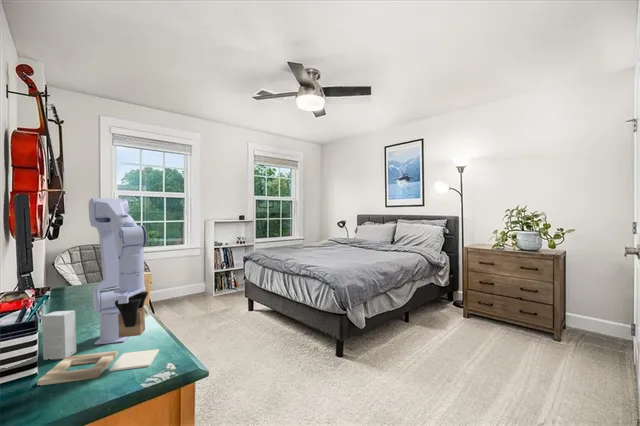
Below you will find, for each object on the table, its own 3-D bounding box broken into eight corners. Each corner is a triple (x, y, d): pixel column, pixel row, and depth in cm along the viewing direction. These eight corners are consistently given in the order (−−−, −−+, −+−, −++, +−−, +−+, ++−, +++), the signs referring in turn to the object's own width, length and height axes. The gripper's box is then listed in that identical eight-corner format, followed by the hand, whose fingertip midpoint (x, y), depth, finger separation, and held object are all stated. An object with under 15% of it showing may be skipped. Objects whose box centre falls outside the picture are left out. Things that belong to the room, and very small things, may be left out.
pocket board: (66, 361, 82) (66, 356, 82) (117, 355, 85) (117, 350, 85) (37, 385, 70) (37, 380, 70) (97, 377, 73) (97, 372, 73)
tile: (123, 355, 85) (123, 353, 85) (158, 350, 87) (158, 349, 87) (109, 371, 76) (109, 369, 76) (149, 366, 78) (149, 364, 78)
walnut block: (124, 331, 82) (123, 309, 82) (145, 329, 84) (144, 307, 84) (118, 337, 78) (118, 314, 78) (140, 335, 80) (140, 312, 80)
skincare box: (77, 352, 87) (76, 310, 87) (65, 359, 83) (64, 315, 83) (55, 353, 87) (54, 310, 87) (42, 360, 83) (40, 315, 82)
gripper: (124, 268, 87) (125, 316, 87) (102, 278, 73) (104, 335, 73) (151, 266, 89) (152, 313, 89) (136, 276, 75) (137, 332, 75)
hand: (133, 323), depth 81 cm, fingers closed on walnut block, 4 cm apart
